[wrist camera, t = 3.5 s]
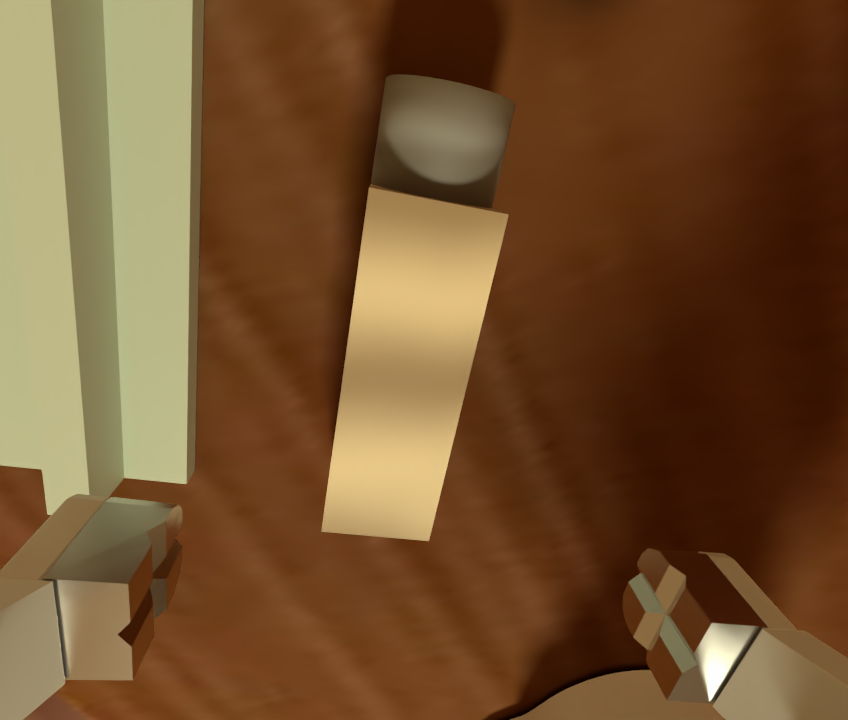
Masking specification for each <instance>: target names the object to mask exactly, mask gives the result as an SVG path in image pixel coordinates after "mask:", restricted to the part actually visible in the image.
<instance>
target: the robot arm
mask: <svg viewBox="0 0 848 720" xmlns="http://www.w3.org/2000/svg"><path fill="white" fill-rule="evenodd" d="M182 525H183V524H182V508H181V507H180V506H179V505H178V504H169V503H160V502H151V501H143V500H134V499H125V498H117V497H112V498H109V497H102V496H94V495H85V494H76V495H73V496H71V497H69V498H67V499H66V500H65V501H64V502H63V503H62V504H61V505H60V507H59V508H58V509H57V510H56V511H55V512H54V513H53V514H52V515H51V516H50V517H49V518H48V520H47V521H46V522H45V523H44V524H43V525H42V526H41V527H40V528H39V529H38V530H37V531H36V532H35V534H34V535H33V536H32V537H31V538H30V539H29V540H28V541H27V542H26V543H25V544H24V545H23V547H22V548H21V549H20V550H19V551H18V552H17V553H16V554H15V555H14V556H13V557H12V558H11V560H10V561H9V562H8V563H7V564H6V565H5V566H4V567H3V568H2V569H1V570H0V720H23V719H24V718H25V717H26V716H28V715H29V714H30V713H31V712H32V711H34V710H35V709H36V708H37V707H38V706H39V705H41V704H42V703H43V702H44V701H45V700H46V699H48V698H49V697H50V696H51V695H52V694H54V693H55V692H56V691H57V690H58V689H60V688H61V687H62V686H63V685H64V684H65V680H133V679H134V677H135V675H136V672H137V670H138V668H139V666H140V664H141V662H142V660H143V658H144V656H145V654H146V651H147V649H148V647H149V645H150V643H151V641H152V639H153V637H154V618H155V617H157V616H158V615H159V614H161V613H162V612H164V611H165V610H166V609H167V607H168V605H169V602H170V600H171V598H172V596H173V594H174V591H175V587H176V584H177V581H178V578H179V574H180V569H181V562H182V546H181V544H180V543H179V542H178V541H177V540H176V539H175V538H176V536H177V534H178V532H179V531H180V529H181V527H182ZM637 566H638V569H639V572H640V574H638V575H637V576H636V577H634V578H633V579H632V580H630V581H629V582H628V584H627V586H626V589H625V591H624V594H623V614H624V618H625V621H626V625H627V627H628V629H629V630H630V632H631V634H632V636H633V638H634V639H635V640H637V641H638V642H639V643H640V644H641V645H642V646H644V647H645V648H646V649H647V656H646V663H647V665H648V666H649V668H650V670H635V671H625V672H618V673H613V674H608V675H604V676H600V677H596V678H593V679H590V680H587V681H584V682H581V683H579V684H576V685H574V686H572V687H570V688H568V689H565V690H563V691H562V692H560V693H558V694H556V695H554V696H553V697H551V698H549V699H548V700H546V701H545V702H543V703H542V704H540V705H539V706H537V707H536V708H535V709H533V710H531V711H530V712H528V713H526V714H524V715H522V716H519V717H516V718H513V719H510V720H848V658H846V657H845V656H843V655H842V654H840V653H839V652H837V651H836V650H834V649H833V648H831V647H830V646H828V645H826V644H825V643H823V642H822V641H820V640H819V639H817V638H816V637H814V636H813V635H811V634H809V633H808V632H806V631H800V630H797V629H796V628H795V627H794V626H793V625H792V623H791V622H790V621H789V620H788V619H787V618H786V617H785V616H784V614H783V613H782V612H781V611H780V610H779V609H778V608H777V607H776V606H775V604H774V603H773V602H772V601H771V600H770V599H769V598H768V597H767V595H766V594H765V593H764V592H763V591H762V590H761V589H760V588H759V587H758V585H757V584H756V583H755V582H754V581H753V580H752V579H751V578H750V577H749V575H748V574H747V573H746V572H745V571H744V570H743V569H742V568H741V566H740V565H739V564H738V563H737V562H736V561H735V560H734V559H733V558H731V557H729V556H728V555H726V554H724V553H712V552H692V551H680V550H668V549H656V548H648V549H647V550H646V551H644V552H643V553H642V554H641V556H640V558H639V560H638V562H637Z"/></svg>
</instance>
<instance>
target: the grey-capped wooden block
mask: <svg viewBox="0 0 848 720" xmlns="http://www.w3.org/2000/svg"><path fill="white" fill-rule="evenodd" d="M514 109H515V103H514V102H513V101H511V100H510V99H508V98H506V97H504V96H501V95H499V94H496V93H494V92H491V91H488V90H484V89H481V88H478V87H474V86H470V85H466V84H462V83H458V82H453V81H449V80H444V79H438V78H432V77H425V76H417V75H404V74H395V75H389V76H387V77H386V78H385V85H384V92H383V100H382V107H381V114H380V121H379V128H378V136H377V143H376V150H375V157H374V164H373V172H372V179H371V184H370V186H369V191H368V198H367V205H366V213H365V220H364V227H363V234H362V242H361V249H360V256H359V263H358V271H357V278H356V285H355V292H354V300H353V307H352V314H351V321H350V328H349V336H348V343H347V350H346V357H345V365H344V372H343V379H342V386H341V394H340V401H339V408H338V415H337V422H336V430H335V437H334V444H333V451H332V459H331V466H330V473H329V480H328V488H327V495H326V502H325V509H324V516H323V524H322V531H321V532H333V533H344V534H355V535H367V536H378V537H389V538H401V539H412V540H424V541H429V538H430V534H431V530H432V526H433V522H434V518H435V514H436V510H437V506H438V502H439V497H440V493H441V489H442V485H443V481H444V477H445V473H446V469H447V465H448V461H449V457H450V452H451V448H452V444H453V440H454V436H455V432H456V428H457V424H458V420H459V416H460V412H461V408H462V403H463V399H464V395H465V391H466V387H467V383H468V379H469V375H470V371H471V367H472V363H473V359H474V354H475V350H476V346H477V342H478V338H479V334H480V330H481V326H482V322H483V318H484V314H485V309H486V305H487V301H488V297H489V293H490V289H491V285H492V281H493V277H494V273H495V269H496V265H497V260H498V256H499V252H500V248H501V244H502V240H503V236H504V232H505V228H506V224H507V220H508V215H509V214H506V213H504V212H501V211H499V210H497V209H494V208H492V204H493V200H494V196H495V191H496V187H497V183H498V178H499V174H500V170H501V165H502V161H503V157H504V152H505V148H506V144H507V139H508V135H509V131H510V126H511V122H512V118H513V113H514Z"/></svg>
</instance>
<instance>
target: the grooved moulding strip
mask: <svg viewBox="0 0 848 720" xmlns="http://www.w3.org/2000/svg"><path fill="white" fill-rule="evenodd" d="M203 37H204V0H0V465H3V466H13V467H23V468H33V469H42V474H43V482H44V491H45V499H46V507H47V515H52V514H53V513H54V512H55V511H56V510H57V509H58V508H59V507H60V505H61V504H62V503H63V502H64V501H65V500H66V499H67V498H69V497H71V496H73V495H76V494H85V495H94V496H102V497H109V496H110V495H111V493H112V492H113V491H114V490H115V489H116V487H117V486H118V485H119V484H120V482H121V481H122V480H123V479H124V478H132V479H142V480H151V481H161V482H171V483H181V484H187V482H188V481H189V479H190V477H191V476H192V474H193V473H194V471H195V438H196V388H197V338H198V288H199V238H200V187H201V137H202V87H203Z"/></svg>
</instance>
